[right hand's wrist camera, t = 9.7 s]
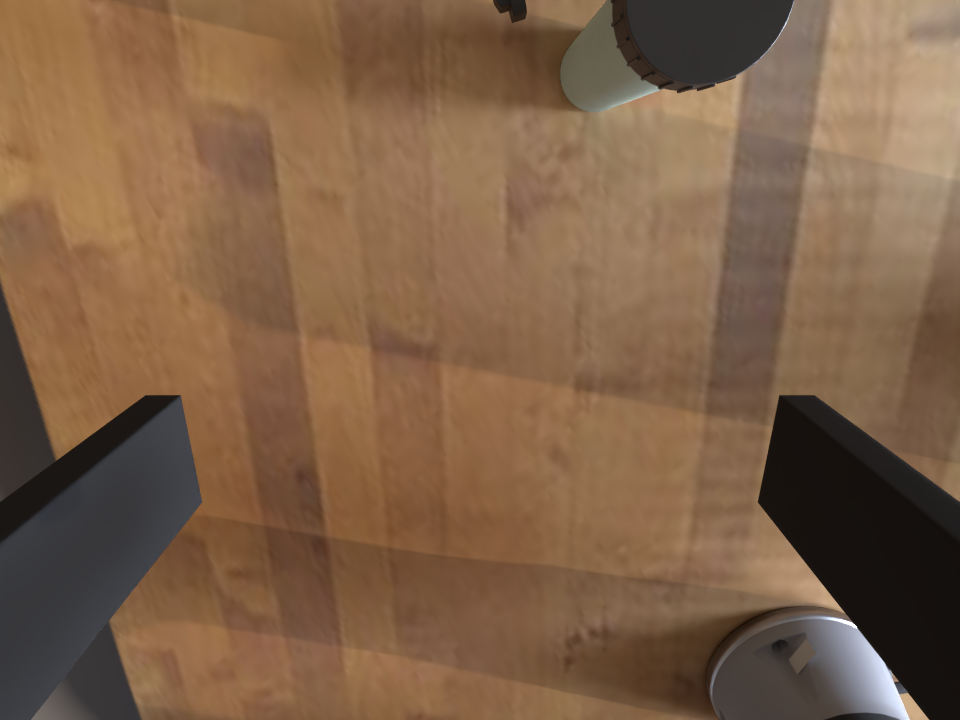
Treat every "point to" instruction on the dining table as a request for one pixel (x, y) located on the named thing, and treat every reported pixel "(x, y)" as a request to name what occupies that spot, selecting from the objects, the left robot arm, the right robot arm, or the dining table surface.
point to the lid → (695, 38)
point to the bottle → (600, 68)
